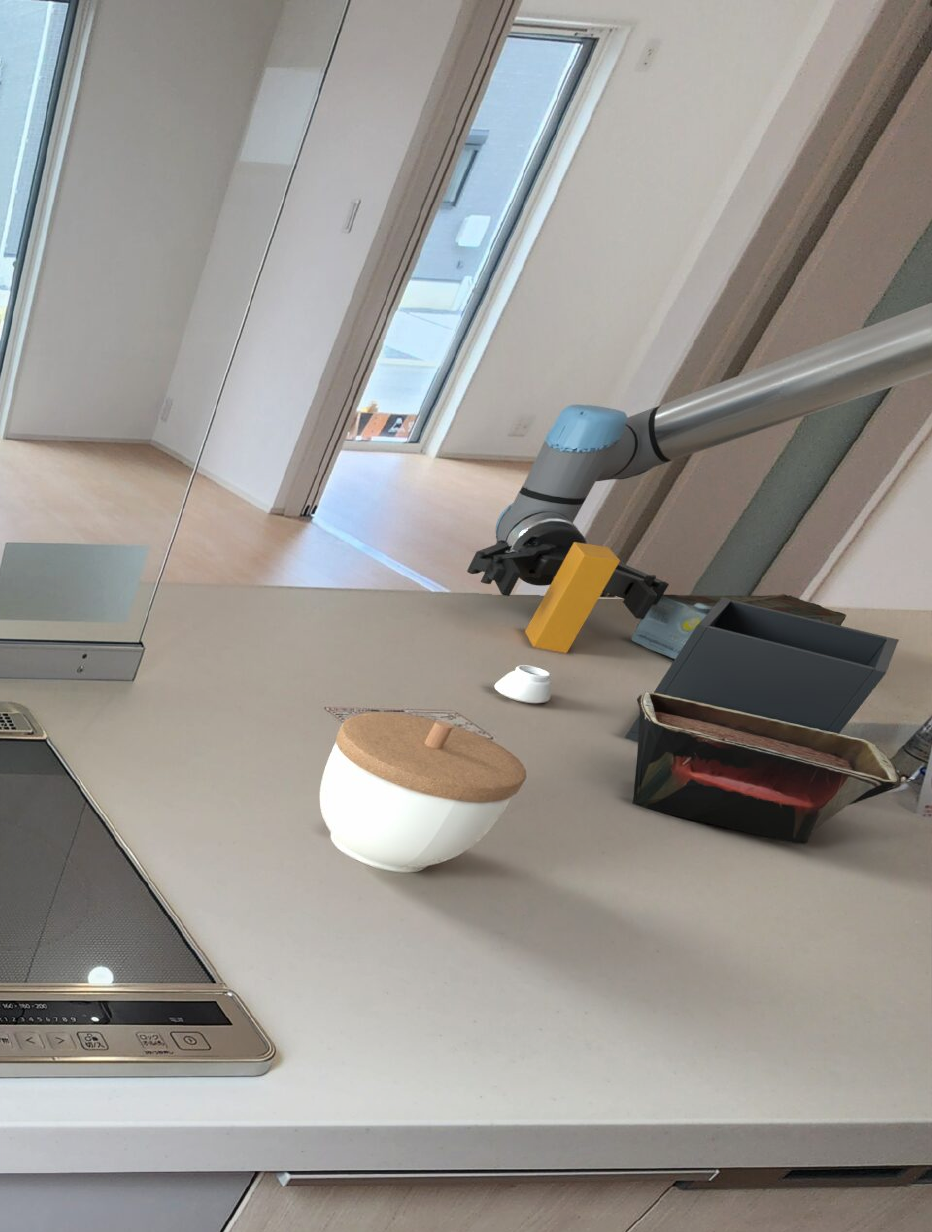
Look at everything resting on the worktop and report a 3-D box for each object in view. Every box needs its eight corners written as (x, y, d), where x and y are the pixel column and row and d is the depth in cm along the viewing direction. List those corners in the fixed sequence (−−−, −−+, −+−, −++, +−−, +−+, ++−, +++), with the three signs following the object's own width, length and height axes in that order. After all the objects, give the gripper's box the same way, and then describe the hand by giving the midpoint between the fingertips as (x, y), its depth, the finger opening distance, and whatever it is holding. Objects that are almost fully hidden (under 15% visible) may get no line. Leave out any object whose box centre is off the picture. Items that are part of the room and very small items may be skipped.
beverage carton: (624, 639, 132) (656, 586, 128) (757, 642, 134) (792, 590, 131) (678, 664, 126) (713, 609, 122) (817, 667, 128) (856, 613, 124)
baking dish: (607, 766, 106) (647, 671, 101) (856, 807, 96) (916, 702, 90) (586, 828, 98) (628, 727, 92) (857, 880, 87) (923, 770, 82)
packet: (557, 637, 131) (608, 547, 125) (566, 653, 127) (620, 560, 120) (524, 631, 132) (574, 541, 126) (533, 647, 128) (584, 554, 121)
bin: (812, 751, 107) (899, 639, 100) (794, 791, 100) (886, 672, 93) (652, 704, 115) (722, 597, 108) (624, 738, 107) (697, 624, 100)
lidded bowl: (431, 821, 90) (498, 701, 84) (493, 903, 80) (575, 774, 74) (277, 800, 92) (331, 680, 85) (319, 878, 82) (384, 749, 75)
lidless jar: (482, 689, 116) (524, 708, 112) (496, 663, 114) (539, 682, 110) (514, 685, 117) (557, 704, 113) (528, 659, 115) (572, 678, 112)
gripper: (640, 596, 138) (685, 649, 122) (426, 560, 146) (442, 605, 130) (675, 537, 134) (727, 584, 118) (452, 503, 141) (473, 543, 126)
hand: (577, 595), depth 124 cm, fingers open, 13 cm apart
